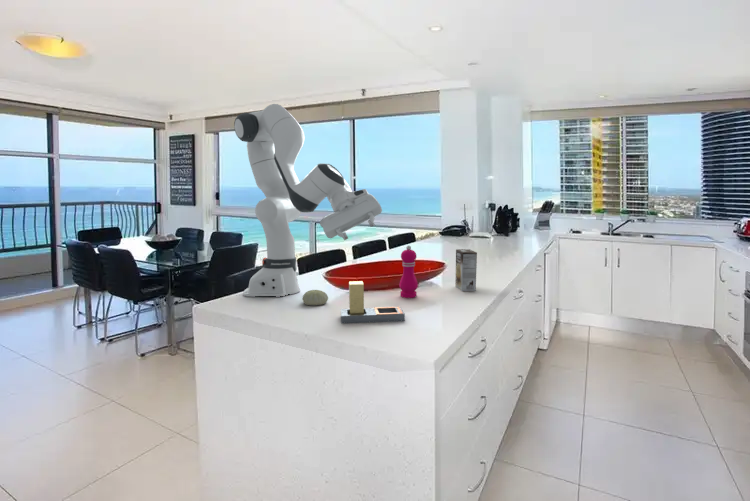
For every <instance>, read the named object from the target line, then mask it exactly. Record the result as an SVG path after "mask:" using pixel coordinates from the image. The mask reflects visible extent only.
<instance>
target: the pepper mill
mask: <svg viewBox="0 0 750 501" xmlns="http://www.w3.org/2000/svg"><path fill="white" fill-rule="evenodd" d="M400 259H401V260H402V264H401V265H402V267H403V273H402V276H401V277H400V280H399V285H398V286H399V289H400V290H401V291H400V297H401V298H404V299H413V298H416V297H417V293H418V292H417V291H416V290H417V289H418V288H419V287H418V286H419V285H418V279H417V277H416V274H415V270H414V269H415V266H416V262H415V261H416V259H417V253H416V251H415V250H413V249H412V246H410V245H406V249H404V250H403V251H402V252H401V254H400Z"/></svg>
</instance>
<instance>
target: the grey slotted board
mask: <svg viewBox="0 0 750 501" xmlns="http://www.w3.org/2000/svg"><path fill="white" fill-rule="evenodd" d="M405 314H406V313H405V311H403V309H402V307H401V306H380V307H379V306H378V307H377V306H376V307H375V306H374V307H369V308H368V307H364V314H360V315H350V314H349V308H341V309H340V323H341V324H367V323H369V324H370V323H392V322H393V323H394V322H395V323H396V322H406V319H405V317H406V315H405Z"/></svg>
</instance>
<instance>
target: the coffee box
mask: <svg viewBox="0 0 750 501" xmlns="http://www.w3.org/2000/svg"><path fill="white" fill-rule="evenodd" d="M477 263H478V252H477V251H474V250H472V249H469V248H468V249H466V248H465V249H463V248H461V249H458V248H457V249H455V287H456V288H457V289H458V290H460V291H461V292H474V291H477V270H478V269H477V268H478V267H477V266H478V265H477Z"/></svg>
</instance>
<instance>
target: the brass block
mask: <svg viewBox="0 0 750 501" xmlns="http://www.w3.org/2000/svg"><path fill="white" fill-rule="evenodd" d="M364 288H365V286H364V282H363V280H359V281H358V280H357V281H354V280H353V281H349V282H348V291H349V292H348V295H349V296H348V298H349V299H348V300H349V302H348V304H349V306H348V307H349V308H348V309H349V314H350V315H360V314H364V308H365V299H364V298H365V296H364V294H365V293H364V292H365V291H364V290H365V289H364Z"/></svg>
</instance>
